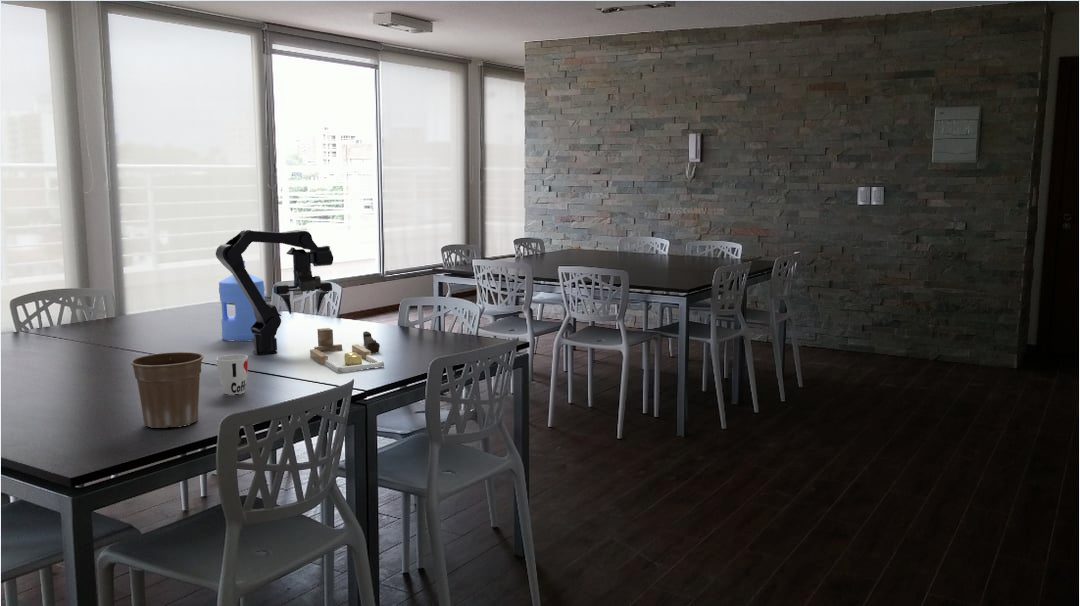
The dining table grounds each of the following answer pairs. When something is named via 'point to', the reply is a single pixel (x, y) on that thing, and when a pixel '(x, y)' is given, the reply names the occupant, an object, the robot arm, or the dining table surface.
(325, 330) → the brown t-shaped block
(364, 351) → the wooden blocks
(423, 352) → the dining table surface
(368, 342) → the hand tool
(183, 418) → the plant pot
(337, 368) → the white tray
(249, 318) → the water jug
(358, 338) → the dining table surface
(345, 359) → the puck
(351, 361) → the puck
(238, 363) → the cup
